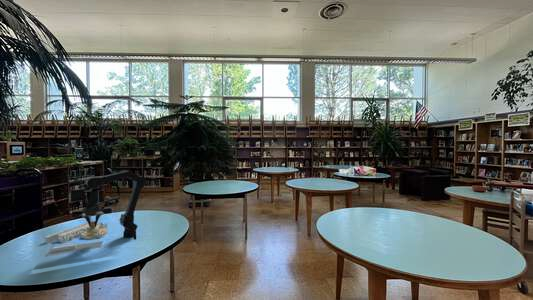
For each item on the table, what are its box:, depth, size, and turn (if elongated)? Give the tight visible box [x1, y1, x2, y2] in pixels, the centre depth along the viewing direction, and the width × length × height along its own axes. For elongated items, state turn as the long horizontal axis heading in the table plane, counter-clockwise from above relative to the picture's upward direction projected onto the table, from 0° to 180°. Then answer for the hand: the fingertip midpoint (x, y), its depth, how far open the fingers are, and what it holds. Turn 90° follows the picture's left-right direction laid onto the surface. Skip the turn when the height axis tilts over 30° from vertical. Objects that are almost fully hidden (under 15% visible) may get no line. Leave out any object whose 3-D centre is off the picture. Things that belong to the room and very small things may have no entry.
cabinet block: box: [86, 220, 99, 240], centre depth 138 cm, size 5×6×8 cm
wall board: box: [44, 240, 104, 257], centre depth 134 cm, size 24×10×4 cm, turn 117°
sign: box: [44, 221, 108, 244], centre depth 157 cm, size 30×4×30 cm
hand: (93, 226), depth 138 cm, fingers closed on cabinet block
